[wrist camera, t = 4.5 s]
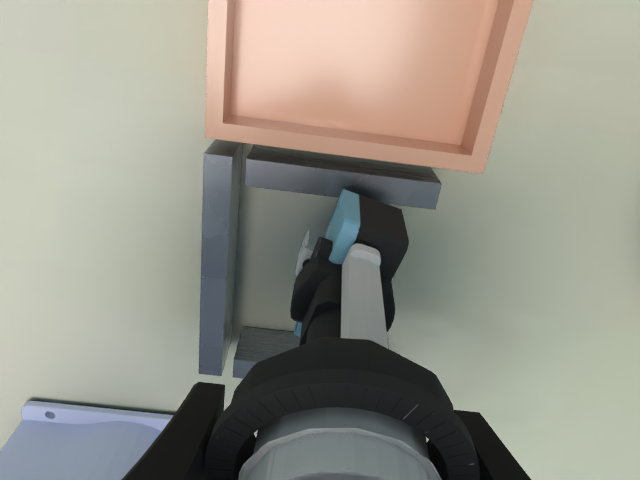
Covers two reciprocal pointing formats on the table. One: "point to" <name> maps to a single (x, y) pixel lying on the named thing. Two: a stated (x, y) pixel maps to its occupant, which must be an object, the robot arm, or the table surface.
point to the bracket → (288, 175)
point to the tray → (364, 76)
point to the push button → (343, 375)
